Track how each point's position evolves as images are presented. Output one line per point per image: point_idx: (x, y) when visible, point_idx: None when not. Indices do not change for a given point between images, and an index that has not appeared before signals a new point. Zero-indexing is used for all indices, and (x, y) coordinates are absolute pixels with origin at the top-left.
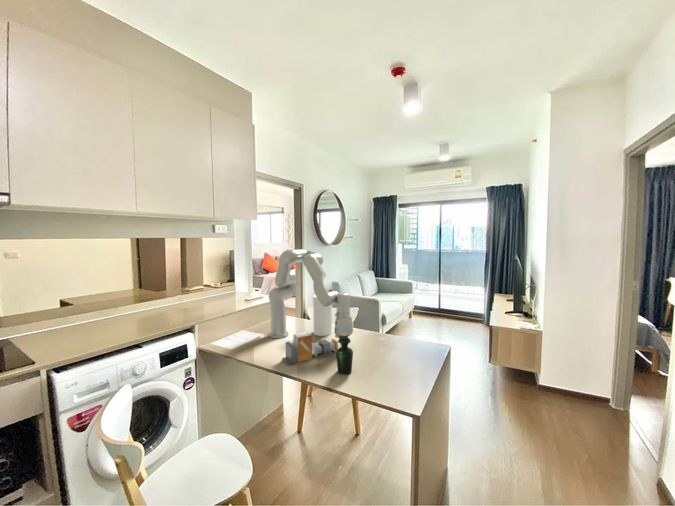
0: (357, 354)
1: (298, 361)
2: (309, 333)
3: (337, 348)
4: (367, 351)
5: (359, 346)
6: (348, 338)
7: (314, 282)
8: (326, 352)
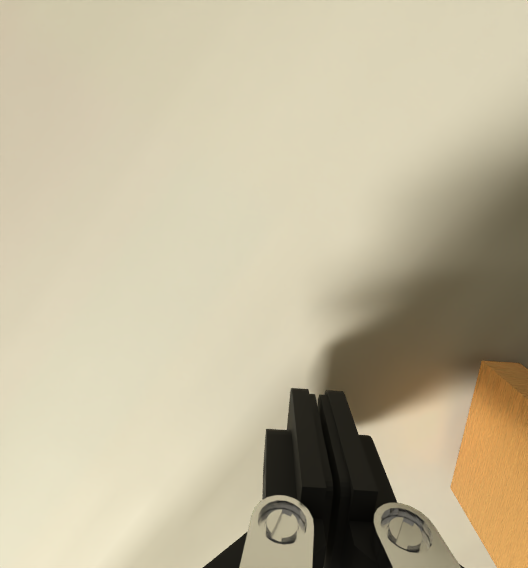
0: (275, 45)
1: None
2: None
3: (514, 382)
4: (20, 43)
5: (36, 320)
6: None
7: None
8: None
